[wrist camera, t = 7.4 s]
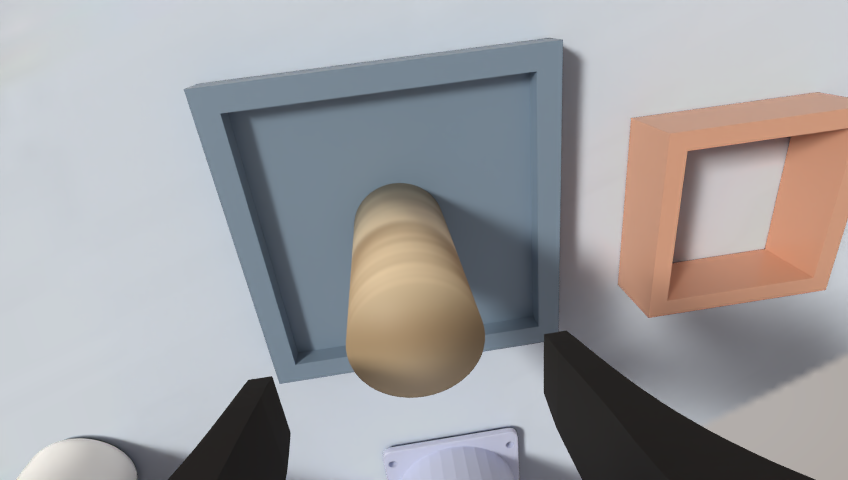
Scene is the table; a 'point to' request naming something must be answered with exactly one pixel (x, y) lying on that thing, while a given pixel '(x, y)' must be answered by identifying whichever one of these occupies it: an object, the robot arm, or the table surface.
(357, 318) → the maple peg
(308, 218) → the slate tray
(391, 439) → the table surface
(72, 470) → the white cylindrical piece
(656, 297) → the hollow square frame
